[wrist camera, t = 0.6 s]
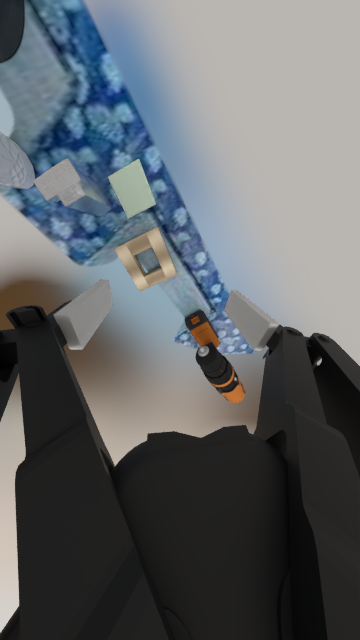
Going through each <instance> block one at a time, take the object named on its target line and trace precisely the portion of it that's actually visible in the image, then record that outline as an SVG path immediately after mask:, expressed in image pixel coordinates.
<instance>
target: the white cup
mask: <svg viewBox="0 0 360 640" xmlns="http://www.w3.org/2000/svg"><path fill="white" fill-rule="evenodd" d="M33 180H35V173H34V169H33V165H32V164H31V162H30V160H29V158H28V156H27V155H26V153H25V152H24V151H23V150H22V149H21V148H20V147H19V146H18V145H17V144H16V143H15V142H14V141H12V140H11V139H9V138H8V137H6V136H5V135H4V134H2V133H1V132H0V184H1V185H5V186H10V187H15V188H18V189H29V188H30V187H32V186H33V185H34V182H33Z"/></svg>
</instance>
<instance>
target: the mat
mask: <svg viewBox="0 0 360 640" xmlns="http://www.w3.org/2000/svg"><path fill="white" fill-rule="evenodd" d="M108 179H109V181H110V183H111V185H112V187H113V189H114V191H115V193H116V195H117V197H118V199H119V201H120V203H121V205H122V207H123V209H124V211H125V213H126V215H127V217H128V219H130V218H132V217H133V216H135V215H137V214H139V213H141V212H143V211H145V210H147V209H149V208H150V207H152V206H154V205H156V202H155V200H154V197H153V195H152V192H151V189H150V187H149V184H148V181H147V179H146V176H145V174H144V171H143V168H142V166H141V163H140V160H139V159H137V160H136V161H134V162H132V163H131V164H129V165H127V166H126V167H124V168H122V169H121V170H119V171H117V172H115V173H114V174H112V175H110V176H109V177H108Z"/></svg>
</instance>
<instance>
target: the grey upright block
mask: <svg viewBox="0 0 360 640" xmlns="http://www.w3.org/2000/svg"><path fill="white" fill-rule="evenodd" d="M33 182H34V184H35V185H36V186H37V188H38V189H39V191H40V192H41V193H42V195H43V196H44V197H45V199H46V200H47V201H50V202H53V203H56V202H58V201H59V200H61V201H62V202H63V204H64V205H65V207H69V208H72V209H75V210H79V211H82V212H85V213H89V214H92V215H95V216H99V217H100V216H102V215H104V214H105V213H107V212H109V211H111V210H113V208H112V206H111V204H110V202H109V200H108V198H107V197H106V195H105V193H104V191H103V189H102V188H101V187H100V186H99V185H97V184H96V183H95V182H93V181H92V180H91V179H89V178H88V177H87V176H85V175H84V174H83V173H82V172H80V171H79V169H78V167H77V166H76V164H75V163H74V162H72V161H71V160H70V159H69V158H67V159H66V160H65V159H64V160H63V161H61V162H60V163H58V164H57V165H55V166H54V167H52V168H50V169H49V170H47V171H46V172H44V173H43V174H42V175H41V176H39V177H38V178H36V179H35V180H33Z"/></svg>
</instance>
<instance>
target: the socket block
mask: <svg viewBox="0 0 360 640" xmlns="http://www.w3.org/2000/svg"><path fill="white" fill-rule="evenodd" d="M151 247H152V248H153V250H154V252H155V254H156V256H157V259H158V261H159V263H160V265H161V267H159V268H156V269H154V270H152V271H150V272H148V273H145V271H144V269H143V267H142V265H141V264H140V262H139V260H138V258H137V256H136V254H138V253H140V252H142V251H145V250H147V249H149V248H151ZM114 250H115V251H116V253H117V255H118V256H119V258H120V259H121V261H122V263H123V265H124V266H125V268H126V269H127V271H128V273H129V274H130V276H131V278H132V279H133V281H134V283H135V284H136V286H137V287H138V289H139V291H142V290H144V289H146V288H148V287H151V286H153V285H156V284H158V283H160V282H162V281H165V280H167V279H169V278H171V277H174V276H176V275H177V273H176V270H175V268H174V265H173V263H172V260H171V258H170V255H169V253H168V250H167V248H166V245H165V243H164V240H163V238H162V235H161V233H160V230H159V228H158V227H156V228H154V229H152V230H150V231H148V232H146V233H144V234H142V235H140V236H138V237H136V238H134V239H132V240H130V241H128V242H126V243H124V244H122V245H120V246H118V247H116V248H114Z"/></svg>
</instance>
